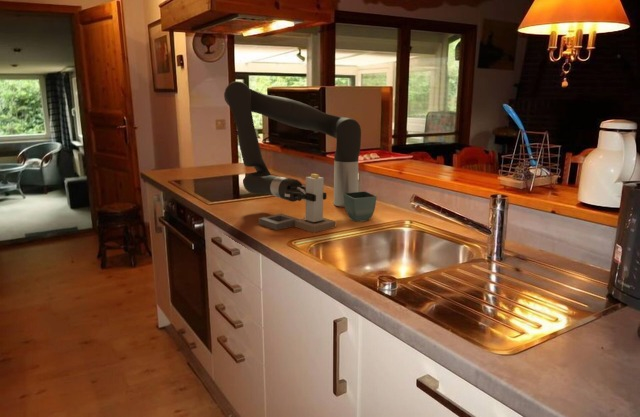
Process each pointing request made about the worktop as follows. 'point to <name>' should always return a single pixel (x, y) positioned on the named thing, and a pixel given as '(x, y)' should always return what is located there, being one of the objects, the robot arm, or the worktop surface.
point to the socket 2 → (315, 224)
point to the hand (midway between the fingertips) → (320, 197)
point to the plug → (316, 208)
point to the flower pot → (359, 205)
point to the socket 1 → (277, 221)
